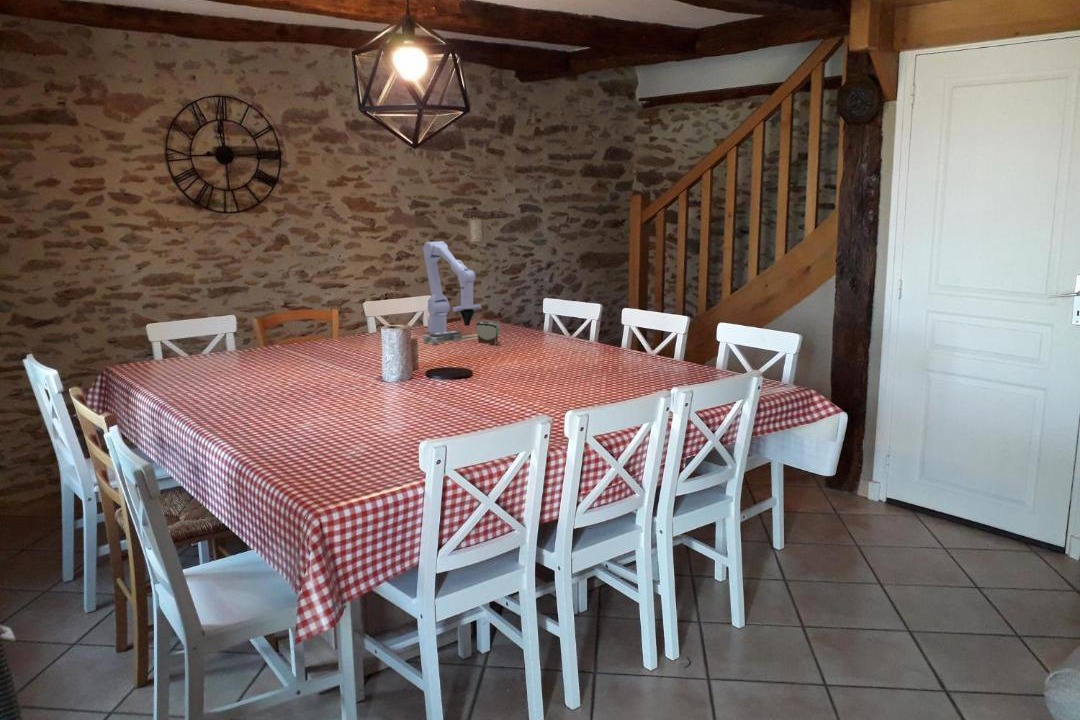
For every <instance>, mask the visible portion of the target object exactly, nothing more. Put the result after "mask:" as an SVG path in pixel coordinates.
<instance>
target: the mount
mask: <svg viewBox="0 0 1080 720" xmlns="http://www.w3.org/2000/svg"><path fill="white" fill-rule="evenodd" d="M422 337H423V340H420V343H423V344H426V345H428V346H429V345H430V346H438V345H441V344H445V343H446V344H447V343H453V342H461V341H469V340H478V335H477V333H474V334H465V335H463V334H461V335H453V340H451V341H444V337H431V336H430V334H423V336H422Z"/></svg>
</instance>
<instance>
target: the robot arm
mask: <svg viewBox="0 0 1080 720" xmlns="http://www.w3.org/2000/svg"><path fill="white" fill-rule="evenodd" d="M422 249H423V256H424V261H425V266H426V273H427V278H428V284H429V289H430V297H429V298H428V299H427V311H428V313H429V316H428V318H427V330H426V333H428V332H429V334H430V333H438V332H447V328H448V327H447V326H448V325H447V323H448V321H447V315H449V312H450V309H451V305H450V303H449V300H448V297H447V296H446V295H444V294H443V289H442V284H441V279H440V272H439V267H438V261H439V260H440V259H441V258H443V259H444V260H445V261H446V262H447V263H449V265H450V269H451V270H452V272H454V274H455V275H456V276H457V280H458V282H459V287H460V305H457V306H452V312H459V313H460V315H461V317H462V319H463V320H462V321H463V323H464V326H466V327H468V326H470V324H471V322H472V321H471V320H472V318H473V316H474V313H475V310H481V309H482V305H481V304H474V283H475V282H476V279H477V275H476V273H475V271H474V270H473V269H469V268H468V267H467V266H466V265H465V264H464V263H463V261H462V260H460V259H456V258H455V256H454V255H453V254H452V253H451V251H450V250H449V246H448V244H447V243H446V242H445V241H443V240H439V241H427V242H425V243H424V245H423V247H422Z"/></svg>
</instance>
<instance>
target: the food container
mask: <svg viewBox="0 0 1080 720" xmlns="http://www.w3.org/2000/svg"><path fill="white" fill-rule="evenodd" d="M475 327H476V334H477V335H478V339H477V343H482V344H487V345H488V346H493V347H495V346H497V345H498V338H499V331H500V330H499V329H501V326H500V322H499V321H496V320H495V321H494V320H477V321H476V323H475Z"/></svg>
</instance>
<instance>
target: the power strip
mask: <svg viewBox="0 0 1080 720" xmlns="http://www.w3.org/2000/svg"><path fill="white" fill-rule="evenodd" d="M429 335H430V336H431V337H444V341H451V340H453V335H462V331H459V330H448V331H447V332H438V333H429Z"/></svg>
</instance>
